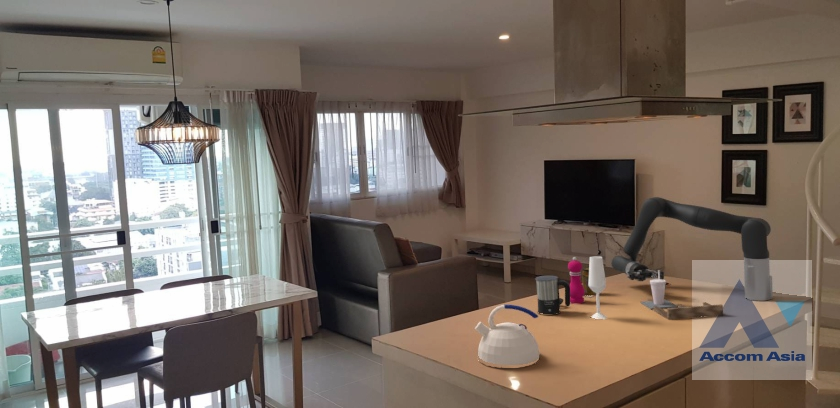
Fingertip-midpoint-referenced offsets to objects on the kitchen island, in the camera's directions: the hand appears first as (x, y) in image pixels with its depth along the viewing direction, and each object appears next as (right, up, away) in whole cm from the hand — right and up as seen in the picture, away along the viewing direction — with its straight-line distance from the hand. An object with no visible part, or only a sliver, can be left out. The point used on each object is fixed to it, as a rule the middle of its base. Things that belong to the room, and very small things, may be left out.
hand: (652, 278), depth 251 cm
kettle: (-69, -20, -56) cm, 91 cm away
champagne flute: (-27, -14, -16) cm, 35 cm away
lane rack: (+7, -11, -19) cm, 23 cm away
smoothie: (+1, -10, -4) cm, 11 cm away
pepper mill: (-29, -12, +10) cm, 33 cm away
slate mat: (+1, -11, -4) cm, 12 cm away
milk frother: (-43, -14, -1) cm, 45 cm away
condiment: (-21, -10, +22) cm, 32 cm away
